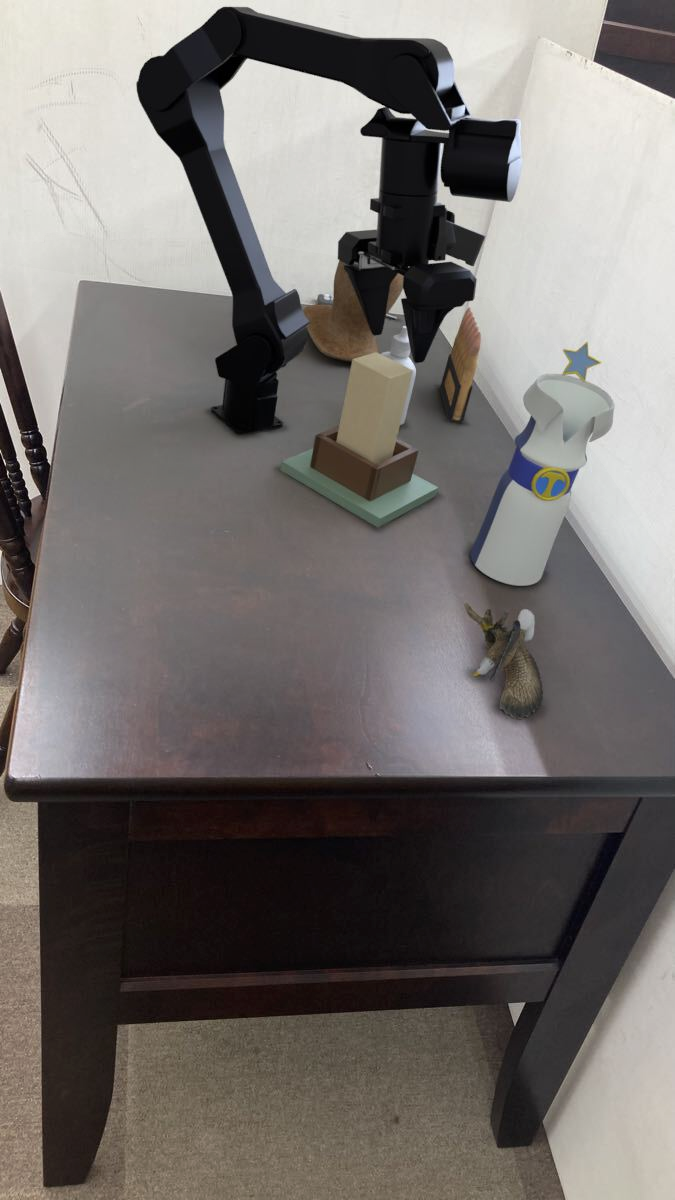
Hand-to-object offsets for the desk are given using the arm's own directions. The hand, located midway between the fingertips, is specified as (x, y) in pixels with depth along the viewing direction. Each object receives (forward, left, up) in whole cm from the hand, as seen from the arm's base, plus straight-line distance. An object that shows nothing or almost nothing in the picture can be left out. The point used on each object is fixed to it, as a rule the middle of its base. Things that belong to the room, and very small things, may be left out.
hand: (397, 347), depth 96 cm
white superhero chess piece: (+22, +1, -14) cm, 26 cm away
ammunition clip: (-9, +22, -14) cm, 27 cm away
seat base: (+3, -4, -14) cm, 15 cm away
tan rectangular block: (+3, -5, -13) cm, 14 cm away
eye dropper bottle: (-9, +10, -14) cm, 19 cm away
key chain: (-41, +30, -14) cm, 53 cm away
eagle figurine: (+34, -13, -14) cm, 39 cm away
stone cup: (-29, +19, -14) cm, 37 cm away
